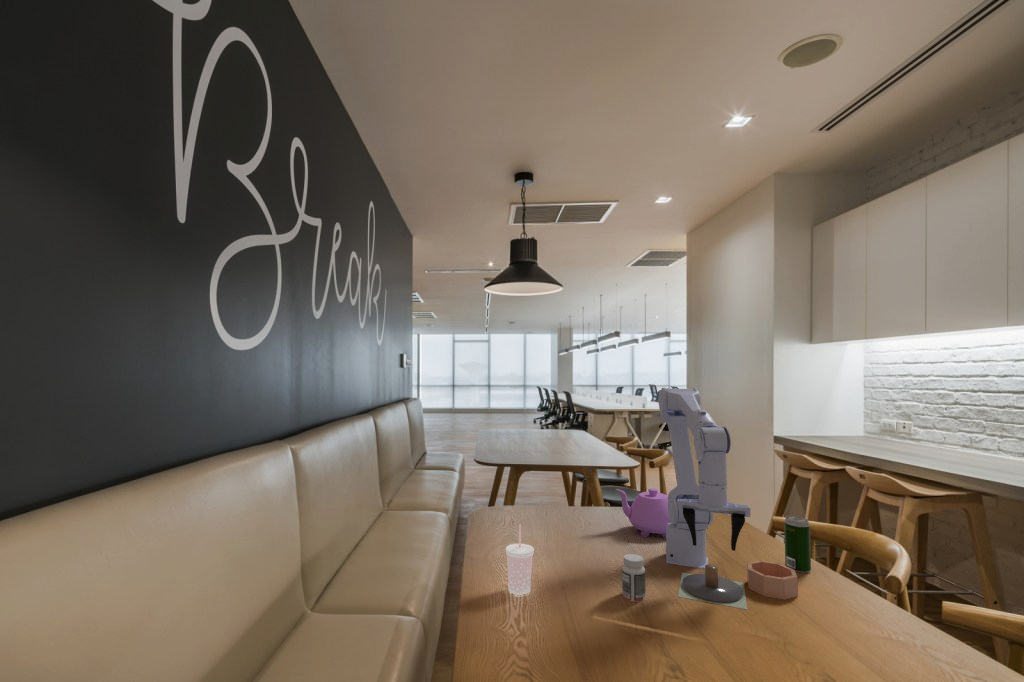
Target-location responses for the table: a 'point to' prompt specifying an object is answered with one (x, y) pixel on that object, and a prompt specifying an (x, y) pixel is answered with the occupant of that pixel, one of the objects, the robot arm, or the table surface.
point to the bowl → (772, 579)
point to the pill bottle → (633, 578)
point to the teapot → (647, 512)
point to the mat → (685, 594)
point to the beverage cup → (519, 566)
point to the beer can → (797, 544)
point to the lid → (712, 586)
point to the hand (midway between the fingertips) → (713, 546)
